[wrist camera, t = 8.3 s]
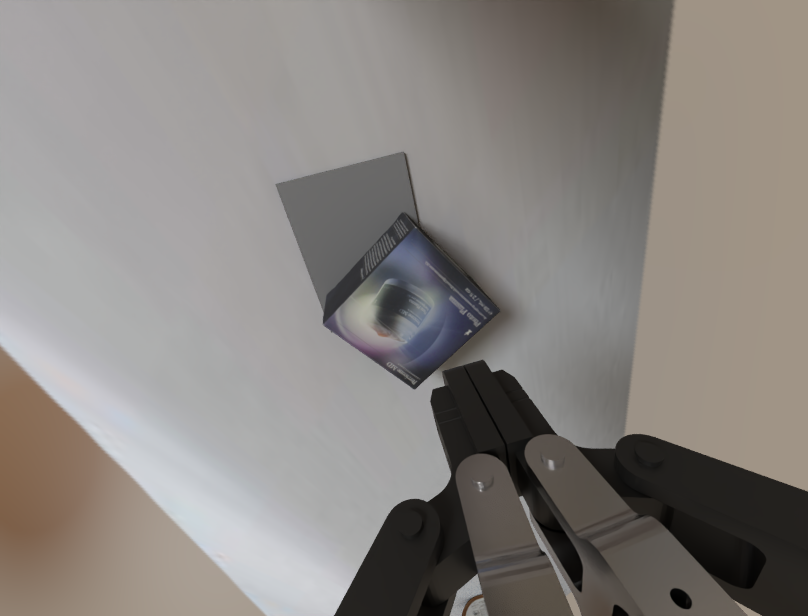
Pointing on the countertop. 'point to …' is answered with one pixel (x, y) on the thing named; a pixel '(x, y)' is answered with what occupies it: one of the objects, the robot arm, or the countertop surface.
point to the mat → (345, 214)
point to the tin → (475, 607)
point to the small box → (407, 304)
